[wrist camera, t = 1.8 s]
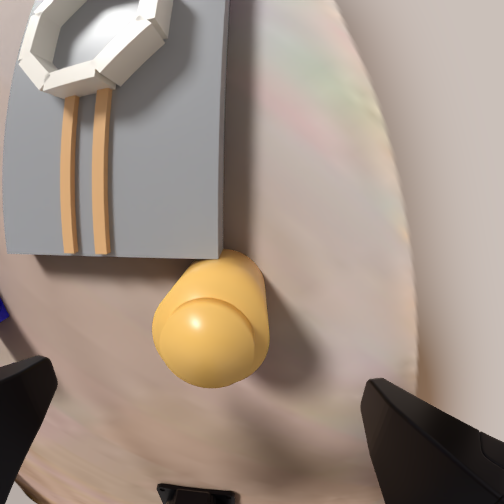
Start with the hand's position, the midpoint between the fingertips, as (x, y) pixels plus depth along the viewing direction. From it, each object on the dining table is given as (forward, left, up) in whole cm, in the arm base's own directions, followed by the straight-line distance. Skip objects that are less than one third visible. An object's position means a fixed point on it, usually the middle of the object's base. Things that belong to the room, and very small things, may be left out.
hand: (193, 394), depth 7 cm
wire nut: (0, 0, -8) cm, 8 cm away
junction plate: (+10, +6, -8) cm, 14 cm away
